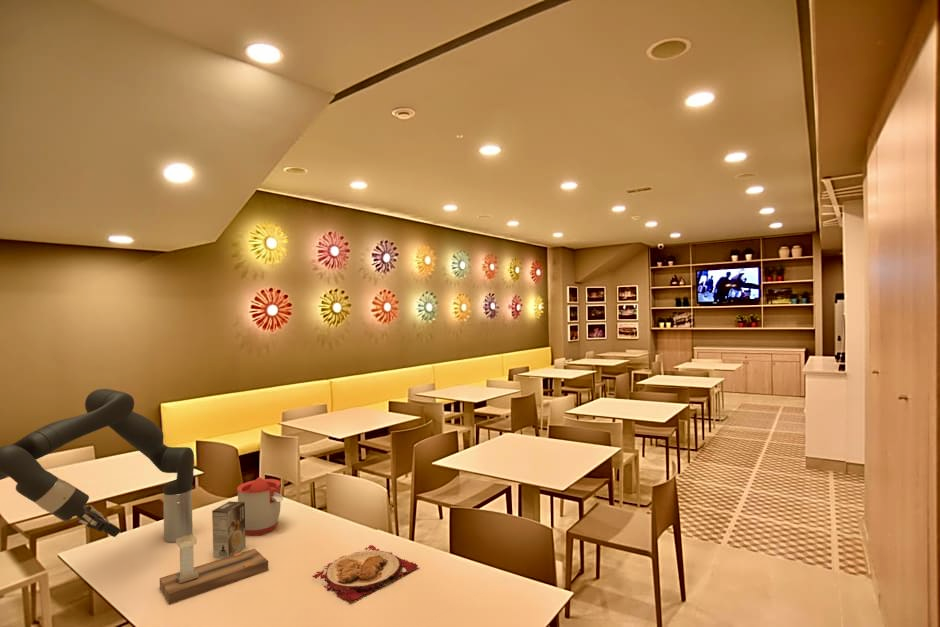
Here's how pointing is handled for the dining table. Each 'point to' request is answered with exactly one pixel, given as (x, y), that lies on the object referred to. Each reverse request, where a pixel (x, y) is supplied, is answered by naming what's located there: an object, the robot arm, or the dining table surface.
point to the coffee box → (228, 529)
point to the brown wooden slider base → (214, 575)
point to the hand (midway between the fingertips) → (117, 533)
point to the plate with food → (363, 572)
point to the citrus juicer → (260, 505)
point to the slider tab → (186, 558)
